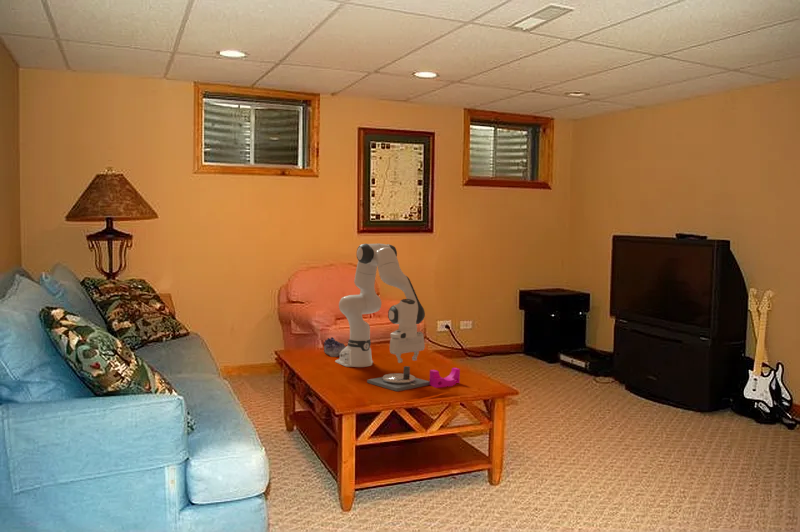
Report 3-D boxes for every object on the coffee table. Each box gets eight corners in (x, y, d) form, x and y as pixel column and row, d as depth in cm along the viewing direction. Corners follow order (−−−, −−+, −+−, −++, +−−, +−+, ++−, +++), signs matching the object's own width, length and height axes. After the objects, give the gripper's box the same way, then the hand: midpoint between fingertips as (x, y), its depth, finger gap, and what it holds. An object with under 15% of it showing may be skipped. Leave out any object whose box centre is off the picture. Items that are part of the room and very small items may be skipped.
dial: (375, 379, 323) (376, 364, 322) (400, 374, 333) (400, 360, 333) (397, 385, 311) (398, 369, 310) (422, 380, 321) (422, 365, 321)
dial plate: (367, 382, 323) (367, 379, 323) (400, 376, 338) (400, 373, 338) (396, 391, 307) (397, 387, 307) (430, 384, 321) (430, 381, 321)
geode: (317, 353, 397) (317, 336, 396) (334, 351, 403) (335, 335, 402) (330, 359, 379) (330, 342, 379) (348, 357, 385) (348, 340, 384)
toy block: (436, 388, 316) (436, 372, 315) (429, 385, 321) (429, 370, 321) (462, 385, 323) (462, 370, 322) (455, 382, 328) (455, 367, 328)
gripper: (418, 330, 326) (418, 358, 327) (387, 334, 312) (387, 362, 313) (427, 331, 321) (427, 359, 322) (396, 335, 308) (396, 364, 308)
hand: (407, 361), depth 317 cm, fingers open, 8 cm apart
